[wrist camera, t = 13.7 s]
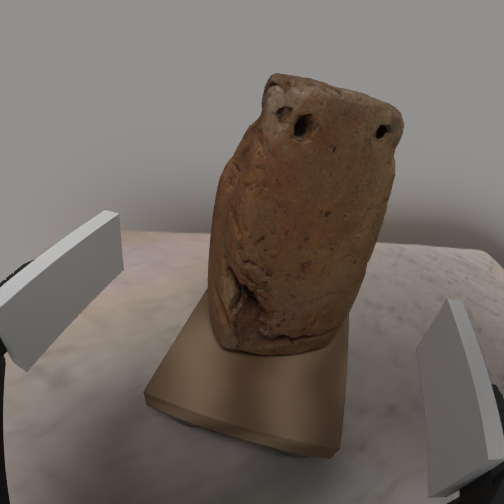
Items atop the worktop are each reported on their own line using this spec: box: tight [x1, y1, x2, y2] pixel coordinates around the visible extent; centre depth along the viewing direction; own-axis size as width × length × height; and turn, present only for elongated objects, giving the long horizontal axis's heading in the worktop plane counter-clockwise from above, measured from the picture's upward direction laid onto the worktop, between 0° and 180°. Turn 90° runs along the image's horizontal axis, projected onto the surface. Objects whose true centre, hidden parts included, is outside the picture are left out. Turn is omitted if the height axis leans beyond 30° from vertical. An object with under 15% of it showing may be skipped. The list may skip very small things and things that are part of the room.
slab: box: [144, 288, 349, 459], centre depth 27 cm, size 14×18×5 cm
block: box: [208, 73, 404, 355], centre depth 22 cm, size 11×8×20 cm
